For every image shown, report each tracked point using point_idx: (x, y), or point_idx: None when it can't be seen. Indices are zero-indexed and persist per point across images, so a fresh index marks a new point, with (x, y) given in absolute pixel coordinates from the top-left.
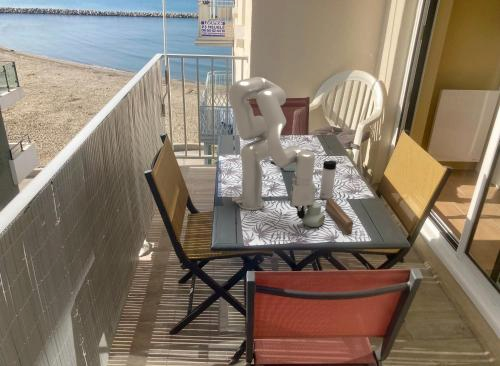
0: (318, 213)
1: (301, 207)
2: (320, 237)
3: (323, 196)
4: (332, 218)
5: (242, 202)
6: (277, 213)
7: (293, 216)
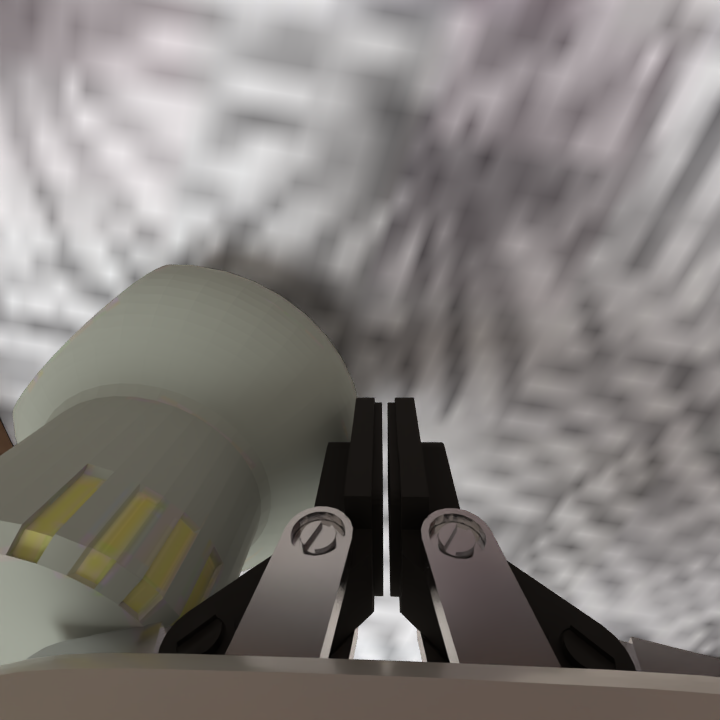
0: (56, 419)
1: (371, 609)
2: (191, 41)
3: None
4: (4, 438)
5: None
6: None
7: None
